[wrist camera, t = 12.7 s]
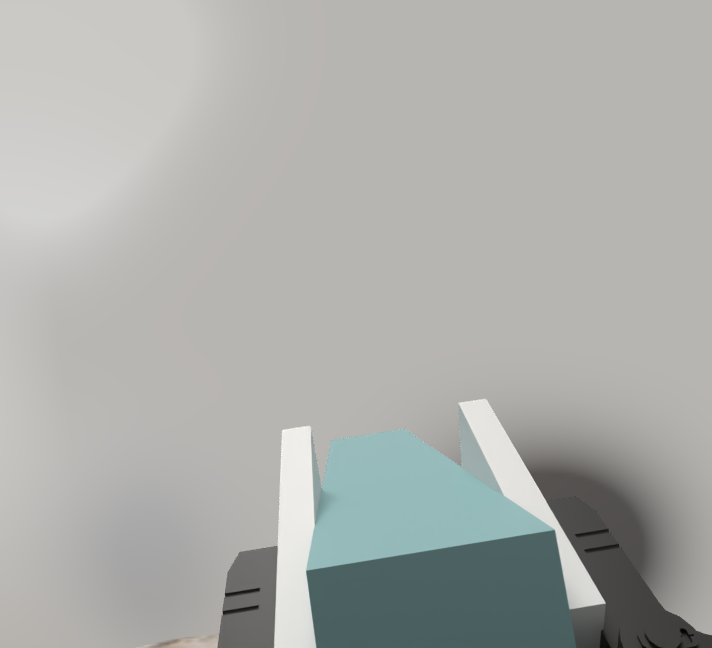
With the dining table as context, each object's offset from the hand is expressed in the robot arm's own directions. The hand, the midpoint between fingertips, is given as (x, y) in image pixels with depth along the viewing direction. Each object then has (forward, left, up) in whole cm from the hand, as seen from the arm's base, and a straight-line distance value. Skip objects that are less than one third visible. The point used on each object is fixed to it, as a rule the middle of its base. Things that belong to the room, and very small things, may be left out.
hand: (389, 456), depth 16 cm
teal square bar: (0, +4, -5) cm, 6 cm away
